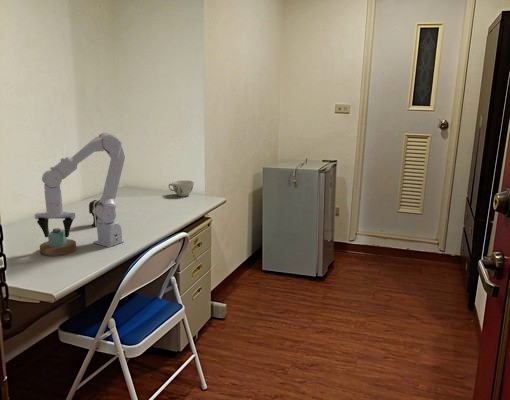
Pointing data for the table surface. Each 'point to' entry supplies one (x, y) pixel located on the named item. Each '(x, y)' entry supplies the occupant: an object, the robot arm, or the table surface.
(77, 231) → the table surface
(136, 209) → the table surface
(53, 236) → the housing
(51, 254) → the stand
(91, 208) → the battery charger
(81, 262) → the table surface
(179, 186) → the teacup
